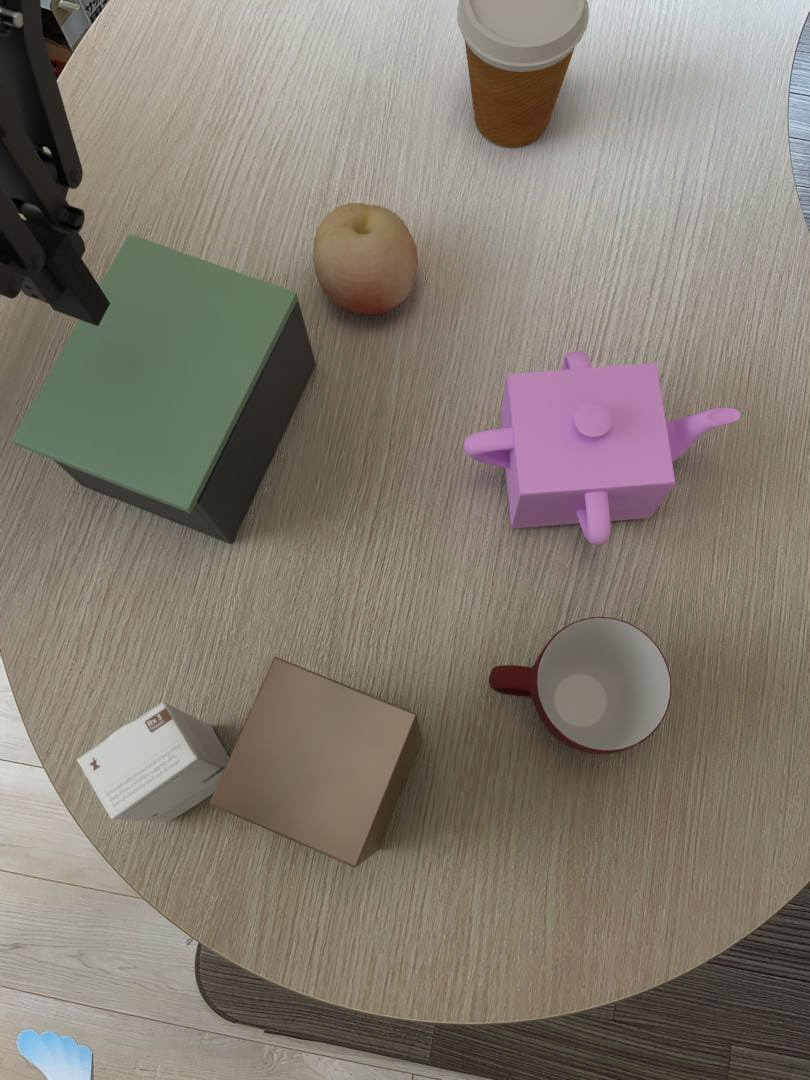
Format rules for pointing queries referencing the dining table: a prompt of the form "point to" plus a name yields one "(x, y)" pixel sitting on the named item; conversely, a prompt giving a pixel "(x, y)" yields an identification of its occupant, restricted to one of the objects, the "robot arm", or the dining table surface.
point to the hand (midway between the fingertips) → (81, 306)
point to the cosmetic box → (156, 766)
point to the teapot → (588, 444)
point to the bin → (237, 443)
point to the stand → (319, 763)
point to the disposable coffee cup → (518, 62)
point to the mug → (594, 685)
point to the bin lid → (158, 373)
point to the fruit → (365, 258)
